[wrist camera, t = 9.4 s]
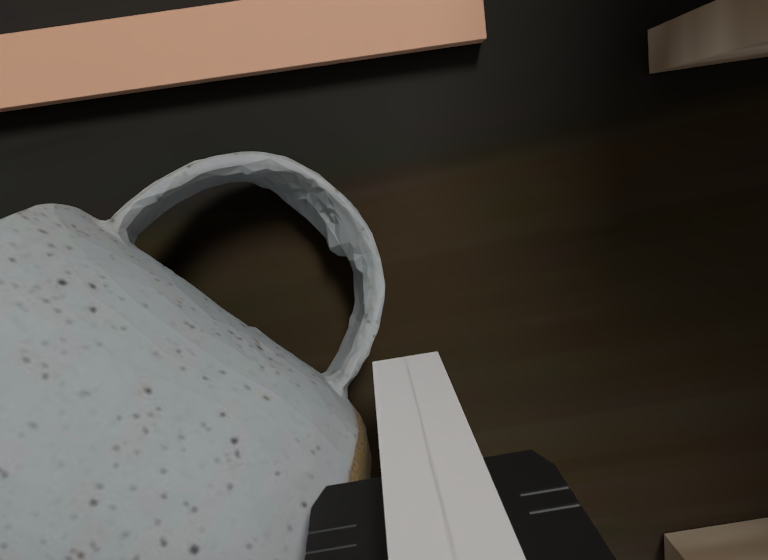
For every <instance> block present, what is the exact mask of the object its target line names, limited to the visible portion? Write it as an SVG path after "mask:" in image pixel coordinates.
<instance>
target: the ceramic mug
mask: <svg viewBox="0 0 768 560" xmlns="http://www.w3.org/2000/svg"><path fill="white" fill-rule="evenodd" d="M233 182H250V183H254V184H256V185H258V186H260V187H261V188H267V189H270V190H272V191H273V192H275V193H277V194H278V195H279V196H280V197H281V198H282V199H283V200H284V201H285V202H286V203H288V204H289V205H290V206H291V207H292V208H294V209H295V210H296V211H297V212H299V213H300V214H301V215H302V216H304V217H305V218H306V219H307V220H308V221H309V222H310V223H312V224H313V226H314V227H315V228H316V229H317V230H318V231H319V232H320V233H321V234H322V235H323V236H324V237H325V238H326V241H327V244H328V247H329V249H330V251H332V252H333V253H335V254H337V255H338V256H347V258H348V259H349V262H350V264H351V267H352V270H353V279H354V295H355V303H354V308H353V313H352V315H351V317H350V319H349V327H348V330H347V332H346V334H345V336H344V339H343V341H342V343H341V346H340V348H339V351H338V353H337V354H336V356H335V358H334V360H333V361H332V363H331V365H330V366H329V368H328V370H327V371H326V372H324V373H322V374H320V373H319V372H318V371H316V370H315V369H313V368H312V367H311V366H309V365H307V364H306V363H304V362H303V361H301V360H300V359H298V358H297V357H296V356H295V355H293V354H292V353H290V352H288V351H287V350H285V349H284V348H282V347H281V346H280V345H278V344H277V343H275V342H274V341H272V340H271V339H270V338H268V337H267V336H266V335H265V334H263V333H262V332H261V331H260V330H258V329H257V328H255V327H249V326H247V325H246V324H245V323H243V322H242V321H240V320H239V319H237V318H236V317H234V316H233V315H231V314H230V313H228V312H227V311H225V310H224V309H223V308H221V307H220V306H219V305H217V304H216V303H215V302H214V301H212V300H211V299H210V298H209V297H207V296H206V295H205V294H203V293H202V292H201V291H200V290H198V289H197V288H196V287H194V286H193V285H191V284H190V283H189V282H187V281H186V280H184V279H183V278H181V277H180V276H178V275H176V274H175V273H174V272H173V271H172V270H170V269H169V268H167V267H165V266H164V265H162V264H161V263H159V262H158V261H156V260H155V259H154V258H152V257H151V256H150V255H148V254H146V253H145V252H143V251H142V250H140V249H139V248H137V247H136V246H135V244H134V242H135V240H136V239H137V237H138V235H139V234H140V233H141V232H142V231H143V230H144V229H146V228H147V227H148V226H149V225H150V224H151V223H152V222H153V221H154V220H156V219H157V218H158V217H159V216H161V215H162V214H163V213H164V212H166V211H167V210H168V209H170V208H171V207H173V206H174V205H176V204H177V203H179V202H181V201H183V200H185V199H187V198H189V197H191V196H192V195H194V194H196V193H198V192H200V191H202V190H205V189H208V188H211V187H215V186H218V185H222V184H225V183H233ZM384 297H385V281H384V275H383V270H382V264H381V259H380V256H379V253H378V249H377V246H376V243H375V240H374V237H373V234H372V233H371V231H370V229H369V227H368V225H367V224H366V223H365V221H364V220H363V218H362V217H361V215H360V214H359V212H358V210H357V209H356V208H355V207H354V206H353V205H352V204H351V202H350V201H349V200H348V199H347V198H346V197H345V196H344V195H343V194H341V193H340V192H339V191H338V190H337V189H336V188H334V187H333V186H332V185H331V184H330V183H329V182H327V181H326V180H325V179H324V178H323V177H322V176H321V175H319V174H318V173H316V172H314V171H312V170H310V169H309V168H307V167H305V166H303V165H301V164H299V163H297V162H296V161H294V160H292V159H290V158H287V157H285V156H280V155H275V154H270V153H265V152H237V153H230V154H223V155H217V156H213V157H209V158H206V159H202V160H195V161H193V162H191V163H189V164H187V165H185V166H183V167H181V168H179V169H177V170H176V171H174V172H172V173H170V174H168V175H166V176H165V177H163V178H161V179H159V180H157V181H155V182H154V183H152V184H151V185H149V186H148V187H146V188H145V189H144V190H143V191H141V192H140V193H139V194H137V195H136V196H135V197H134V198H132V199H131V200H130V201H129V202H127V203H126V204H125V205H124V206H123V207H122V208H121V209H120V210H118V211H117V212H116V213H115V214H114V215H113V217H112V218H111V219H109V220H106V221H102V220H98V219H96V218H94V217H93V216H91V215H89V214H87V213H86V212H84V211H82V210H80V209H78V208H76V207H72V206H69V205H61V204H42V205H36V206H33V207H31V208H29V209H26V210H23V211H20V212H17V213H15V214H12V215H10V216H8V217H5V218H3V219H0V560H305V555H306V544H307V537H308V535H309V532H308V529H309V521H310V513H311V507H312V505H313V504H314V503H315V501H316V500H317V498H318V497H319V495H320V494H321V493H322V491H323V490H324V488H325V487H326V486H329V485H335V484H341V483H347V482H353V481H359V480H365V479H371V461H372V458H371V453H370V447H369V442H368V437H367V431H366V427H365V424H364V422H363V420H362V418H361V416H360V414H359V413H358V411H357V410H356V409H355V407H354V406H353V405H352V404H351V402H350V401H349V400H348V391H347V388H348V385H349V384H350V383H351V381H352V380H353V379H354V378H355V377H356V375H357V374H358V372H359V370H360V368H361V366H362V364H363V362H364V361H365V360H366V358H367V357H368V355H369V353H370V350H371V346H372V343H373V341H374V338H375V336H376V334H377V332H378V329H379V325H380V320H381V314H382V309H383V303H384Z"/></svg>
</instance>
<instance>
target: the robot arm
mask: <svg viewBox="0 0 768 560" xmlns="http://www.w3.org/2000/svg"><path fill="white" fill-rule="evenodd" d="M372 364H373V377H374V389H375V401H376V414H377V426H378V439H379V451H380V464H381V476H382V477H377V478H371V479H365V480H359V481H353V482H347V483H341V484H335V485H329V486H326V487H325V488H324V490H323V491H322V493H321V494H320V495H319V497H318V498H317V500H316V501H315V503H314V504H313V505H312V507H311V513H310V521H309V529H308V532H309V535H308V537H307V544H306V555H305V560H616V559H615V557H614V556H613V554H612V552H611V551H610V549H609V548H608V546H607V545H606V543H605V542H604V540H603V539H602V537H601V536H600V534H599V532H598V531H597V529H596V528H595V526H594V525H593V523H592V522H591V520H590V519H589V517H588V516H587V514H586V512H585V511H584V509H583V508H582V507H580V505H579V502H578V500H577V499H576V497H575V496H574V494H573V492H572V491H571V489H568V485H567V483H566V482H565V480H564V479H563V477H562V476H561V474H560V472H559V471H558V469H557V468H556V466H555V465H554V464H553V463H551V462H550V461H548V460H546V459H545V458H543V457H542V456H540V455H539V454H537V453H536V452H534V451H532V450H527V451H521V452H515V453H509V454H503V455H497V456H491V457H485V458H483V457H482V455H481V452H480V450H479V448H478V445H477V443H476V441H475V438H474V436H473V434H472V431H471V429H470V426H469V424H468V422H467V419H466V417H465V415H464V412H463V410H462V408H461V405H460V403H459V401H458V398H457V396H456V394H455V391H454V389H453V386H452V384H451V382H450V379H449V377H448V375H447V372H446V370H445V368H444V365H443V363H442V361H441V358H440V356H439V354H438V351H437V352H431V353H425V354H419V355H412V356H406V357H400V358H394V359H388V360H381V361H375V362H372Z"/></svg>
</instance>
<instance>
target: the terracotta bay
mask: <svg viewBox="0 0 768 560" xmlns="http://www.w3.org/2000/svg"><path fill="white" fill-rule="evenodd" d="M486 38H487V37H486V26H485V15H484V5H483V0H241V1H233V2H226V3H219V4H212V5H205V6H198V7H191V8H184V9H177V10H170V11H163V12H156V13H149V14H142V15H135V16H128V17H121V18H114V19H107V20H100V21H93V22H86V23H79V24H72V25H65V26H58V27H51V28H44V29H37V30H30V31H23V32H16V33H8V34H1V35H0V112H5V111H12V110H19V109H26V108H32V107H39V106H46V105H53V104H60V103H67V102H74V101H81V100H88V99H95V98H102V97H109V96H116V95H123V94H129V93H136V92H143V91H150V90H157V89H164V88H171V87H178V86H185V85H192V84H199V83H206V82H213V81H220V80H227V79H233V78H240V77H247V76H254V75H261V74H268V73H275V72H282V71H289V70H296V69H303V68H310V67H317V66H324V65H331V64H337V63H344V62H351V61H358V60H365V59H372V58H379V57H386V56H393V55H400V54H407V53H414V52H421V51H428V50H434V49H441V48H448V47H455V46H462V45H469V44H476V43H482V42H483V41H484V40H485V39H486Z"/></svg>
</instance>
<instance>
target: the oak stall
mask: <svg viewBox="0 0 768 560" xmlns="http://www.w3.org/2000/svg"><path fill="white" fill-rule="evenodd" d="M648 52H649V74H651V73H658V72H665V71H672V70H679V69H686V68H692V67H699V66H706V65H713V64H720V63H727V62H734V61H740V60H747V59H754V58H761V57H768V0H715V1H713V2H711V3H708V4H706V5H704V6H701V7H699V8H697V9H695V10H692V11H690V12H688V13H685V14H683V15H681V16H679V17H676V18H674V19H672V20H669V21H667V22H665V23H663V24H660V25H658V26H656V27H653V28H651V29H649V30H648ZM664 552H665V560H768V517H767V518H761V519H755V520H748V521H742V522H736V523H729V524H723V525H717V526H711V527H704V528H698V529H692V530H685V531H679V532H673V533H666V534H664Z"/></svg>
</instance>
